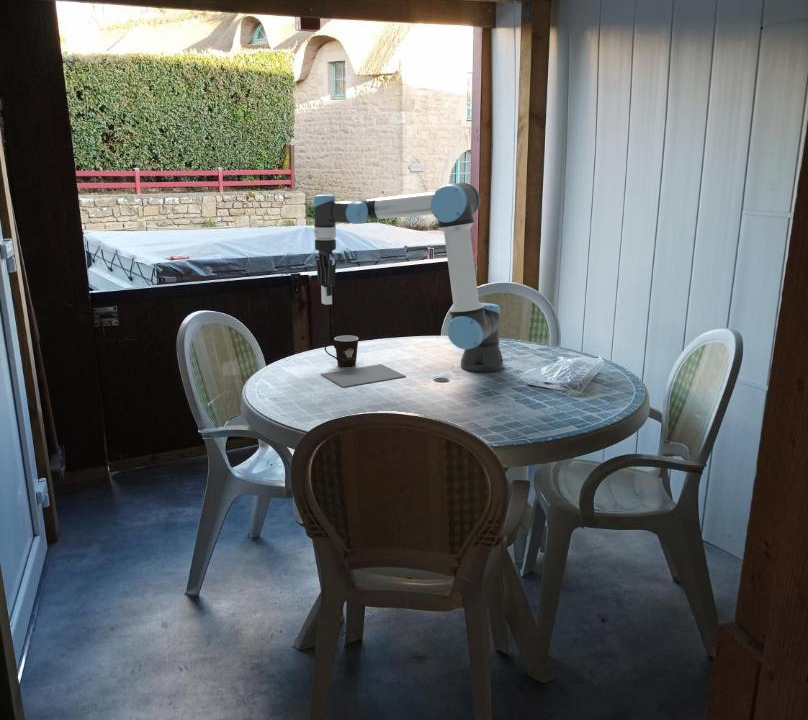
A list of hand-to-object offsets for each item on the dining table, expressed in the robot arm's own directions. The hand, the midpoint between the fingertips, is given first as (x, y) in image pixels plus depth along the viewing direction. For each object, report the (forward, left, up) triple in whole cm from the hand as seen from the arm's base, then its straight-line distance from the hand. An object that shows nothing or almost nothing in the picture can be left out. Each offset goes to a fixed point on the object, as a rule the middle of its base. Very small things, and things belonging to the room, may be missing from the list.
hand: (326, 303), depth 277 cm
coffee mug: (-12, 0, -21) cm, 24 cm away
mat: (-28, 0, -20) cm, 34 cm away
